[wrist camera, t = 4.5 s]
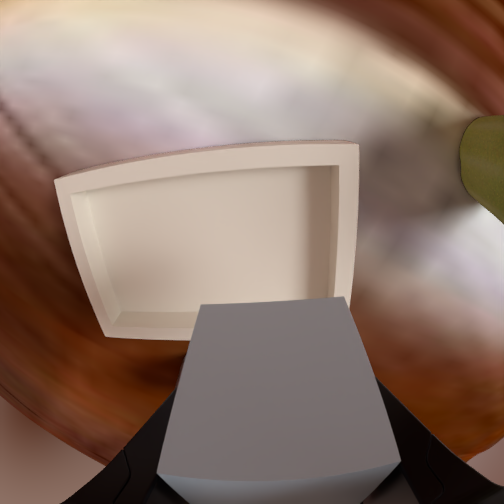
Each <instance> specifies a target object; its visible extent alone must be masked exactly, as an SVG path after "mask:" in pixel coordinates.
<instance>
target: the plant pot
mask: <svg viewBox="0 0 504 504" xmlns="http://www.w3.org/2000/svg"><path fill="white" fill-rule="evenodd" d="M459 155H460V160H461V178H462V181H463V184H464V186H465V188H466V190H467V191H468V193H469V194H470V195H471V196H472V197H473V198H474V199H475V200H477V201H478V202H479V203H480V204H481V205H482V206H484V207H485V208H486V209H487V210H488V211H490V212H491V213H492V214H493V215H494V216H495V217H496V218H498V219H499V220H500V221H501V222H502V223H503V224H504V115H500V116H485V117H480V118H478V119H476V120H474V121H473V122H472V123H471V124H470V125H469V126H468V128H467V129H466V131H465V133H464V135H463V138H462V141H461V144H460V150H459Z"/></svg>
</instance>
